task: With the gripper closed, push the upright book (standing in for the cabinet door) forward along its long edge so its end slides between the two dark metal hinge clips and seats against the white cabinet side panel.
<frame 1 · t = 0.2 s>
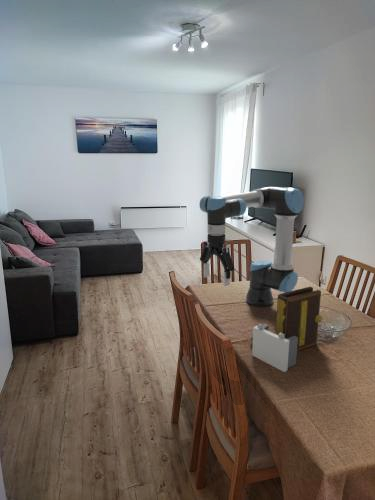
hand: (216, 281, 160), 28 cm above the table, fingers open, 13 cm apart
carcass: (270, 361, 149), on the table
book: (297, 345, 160), on the table
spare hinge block: (256, 343, 163), on the table
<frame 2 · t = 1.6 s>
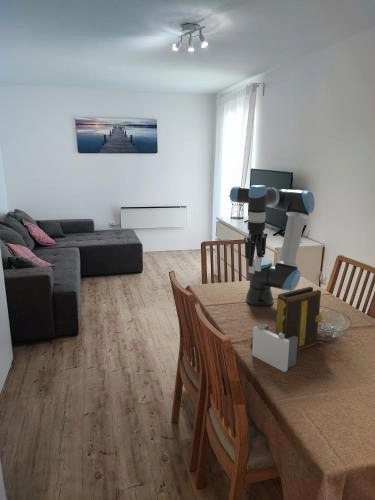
hand: (254, 271, 166), 30 cm above the table, fingers open, 4 cm apart
nothing on the table moved.
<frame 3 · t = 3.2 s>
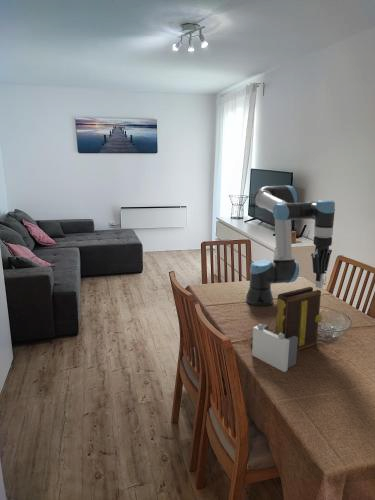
hand: (318, 287, 165), 23 cm above the table, fingers closed
nothing on the table moved.
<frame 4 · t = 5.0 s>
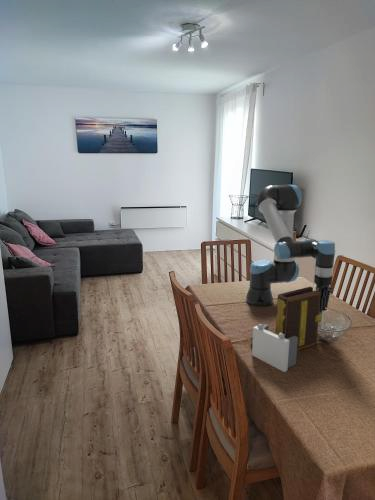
hand: (319, 323, 169), 5 cm above the table, fingers closed
nothing on the table moved.
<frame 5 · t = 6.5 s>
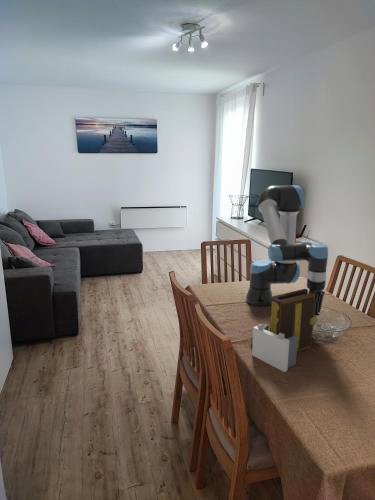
hand: (312, 328, 166), 5 cm above the table, fingers closed
book: (292, 348, 158), on the table, touching hand
everything else where it was.
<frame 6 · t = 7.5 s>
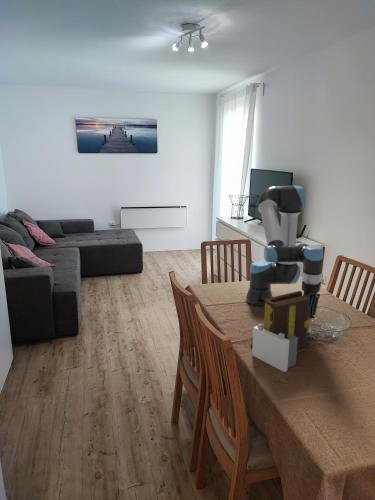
hand: (307, 331, 164), 4 cm above the table, fingers closed
book: (286, 351, 156), on the table, touching hand
everything else where it was.
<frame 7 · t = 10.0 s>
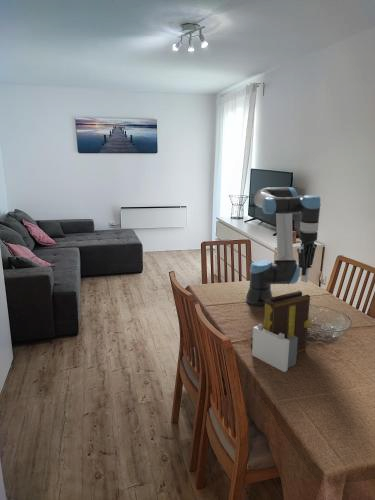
hand: (304, 281, 167), 25 cm above the table, fingers closed
book: (285, 352, 156), on the table
everything else where it was.
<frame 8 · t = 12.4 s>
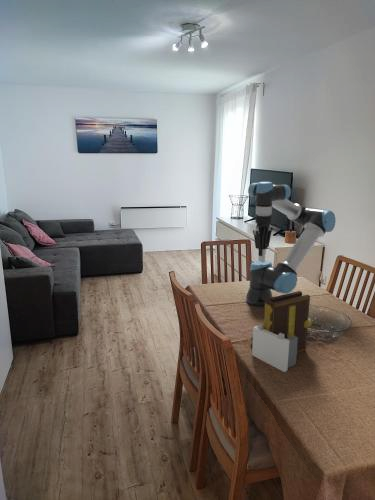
hand: (261, 261, 182), 29 cm above the table, fingers closed
nothing on the table moved.
at the end: book inside the target area (1.1 cm from its centre), on the table; book tilted 0° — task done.
